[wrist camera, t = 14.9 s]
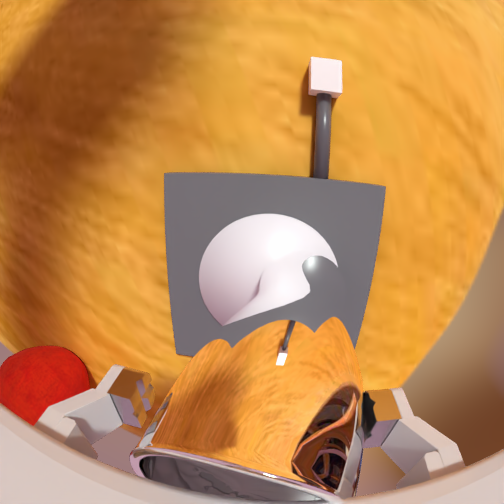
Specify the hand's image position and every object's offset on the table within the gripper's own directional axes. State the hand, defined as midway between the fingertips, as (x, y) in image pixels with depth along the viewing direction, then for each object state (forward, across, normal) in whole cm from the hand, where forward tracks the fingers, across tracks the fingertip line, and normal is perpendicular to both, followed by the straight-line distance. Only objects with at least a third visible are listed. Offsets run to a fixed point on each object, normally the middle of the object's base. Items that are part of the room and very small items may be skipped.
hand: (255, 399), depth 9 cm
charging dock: (+12, 0, -4) cm, 13 cm away
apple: (+12, +23, +14) cm, 30 cm away
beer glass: (+10, -2, 0) cm, 11 cm away
